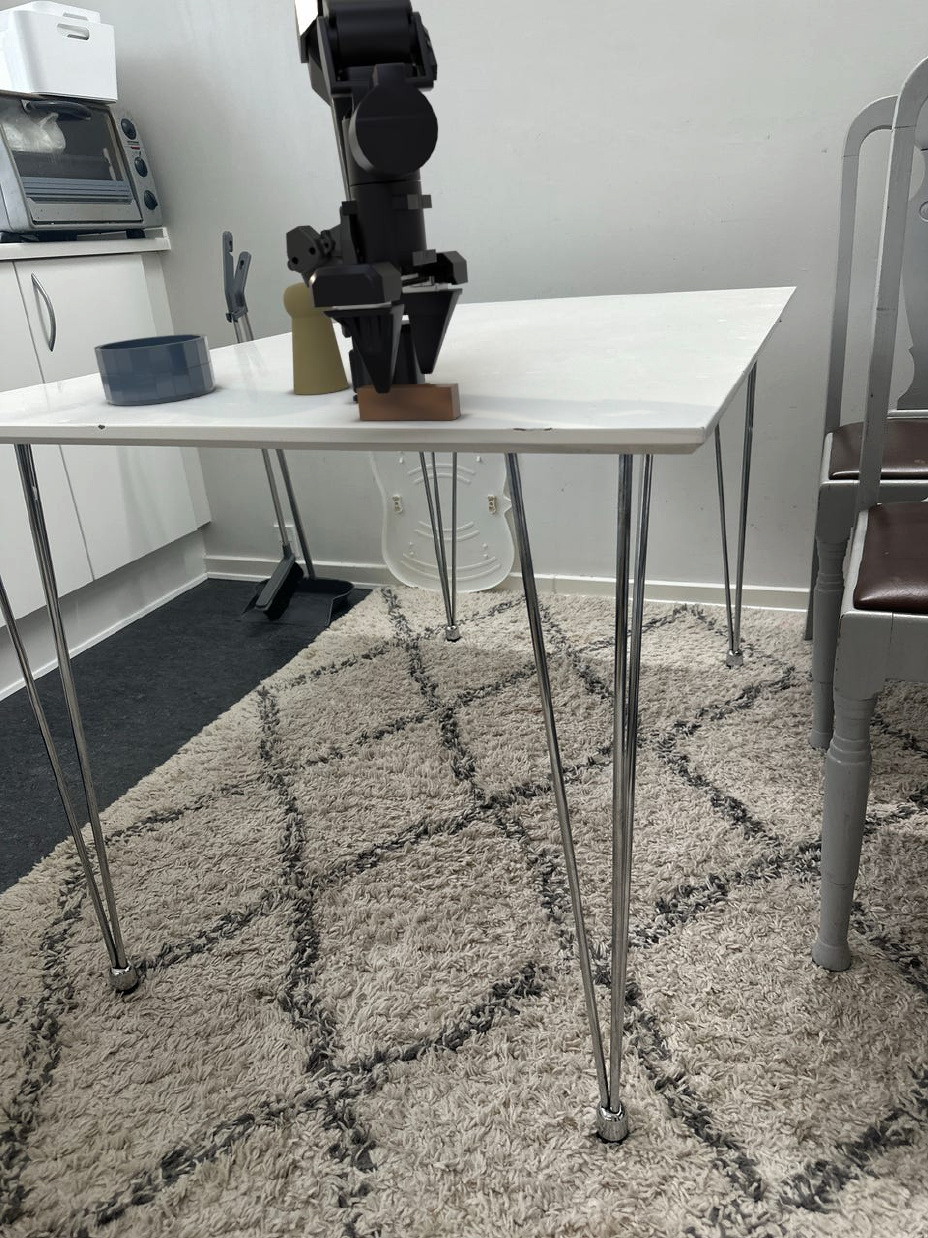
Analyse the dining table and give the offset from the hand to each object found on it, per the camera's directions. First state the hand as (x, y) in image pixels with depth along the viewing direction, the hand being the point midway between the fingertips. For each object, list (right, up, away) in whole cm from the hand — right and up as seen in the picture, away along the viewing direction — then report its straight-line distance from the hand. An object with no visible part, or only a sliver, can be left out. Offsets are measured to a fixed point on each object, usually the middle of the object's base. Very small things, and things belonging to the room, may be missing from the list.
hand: (406, 383), depth 77 cm
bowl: (-30, +5, +25) cm, 40 cm away
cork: (-11, +4, +20) cm, 23 cm away
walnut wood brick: (0, -3, +1) cm, 3 cm away
